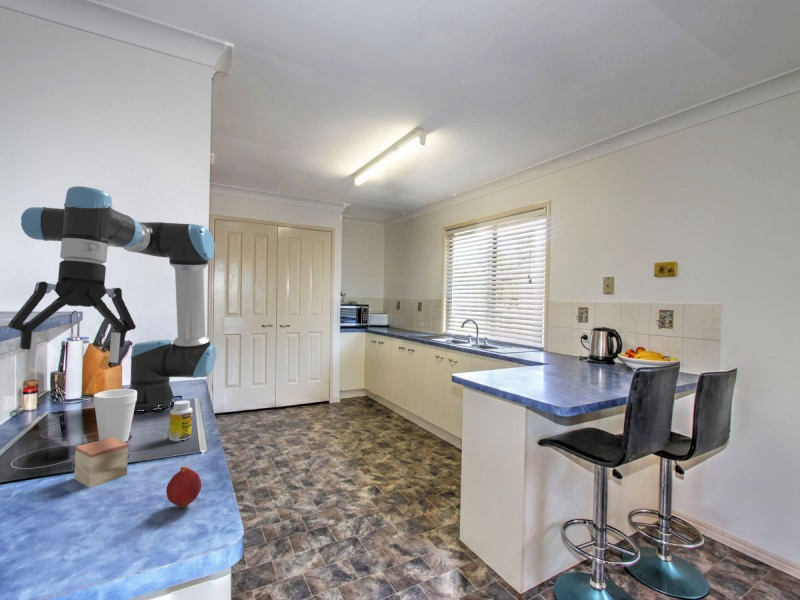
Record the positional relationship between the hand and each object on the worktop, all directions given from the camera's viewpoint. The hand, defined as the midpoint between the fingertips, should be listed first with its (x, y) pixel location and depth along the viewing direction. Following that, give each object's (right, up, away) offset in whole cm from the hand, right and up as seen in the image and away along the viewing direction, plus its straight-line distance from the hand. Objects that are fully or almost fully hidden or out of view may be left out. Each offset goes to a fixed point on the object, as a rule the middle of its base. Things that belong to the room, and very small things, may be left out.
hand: (74, 364), depth 79 cm
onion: (+26, -27, -5) cm, 37 cm away
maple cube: (+2, -26, +5) cm, 26 cm away
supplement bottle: (+5, -26, +28) cm, 39 cm away
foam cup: (-10, -25, +25) cm, 37 cm away
